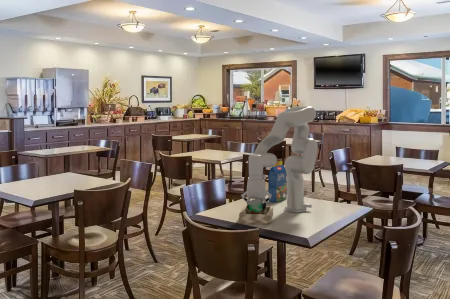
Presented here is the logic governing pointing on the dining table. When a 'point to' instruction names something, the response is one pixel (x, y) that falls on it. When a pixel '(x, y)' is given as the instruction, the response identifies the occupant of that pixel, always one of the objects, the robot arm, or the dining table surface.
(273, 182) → the blue food package
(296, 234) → the dining table surface
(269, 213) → the birch box
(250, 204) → the food container
